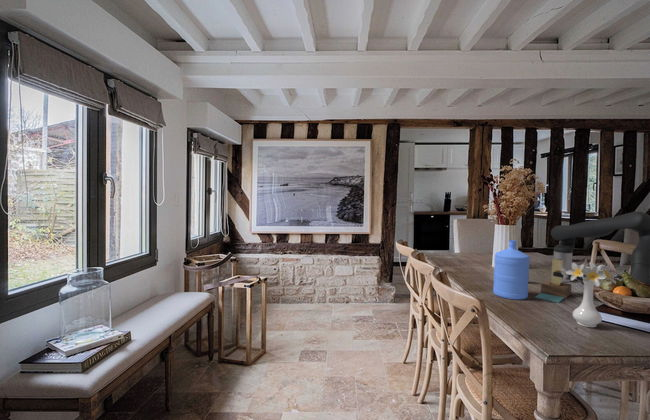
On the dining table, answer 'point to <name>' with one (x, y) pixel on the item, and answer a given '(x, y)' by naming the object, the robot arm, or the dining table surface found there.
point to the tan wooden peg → (556, 268)
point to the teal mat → (549, 297)
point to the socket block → (556, 289)
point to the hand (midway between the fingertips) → (555, 272)
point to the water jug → (511, 273)
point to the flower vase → (588, 291)
